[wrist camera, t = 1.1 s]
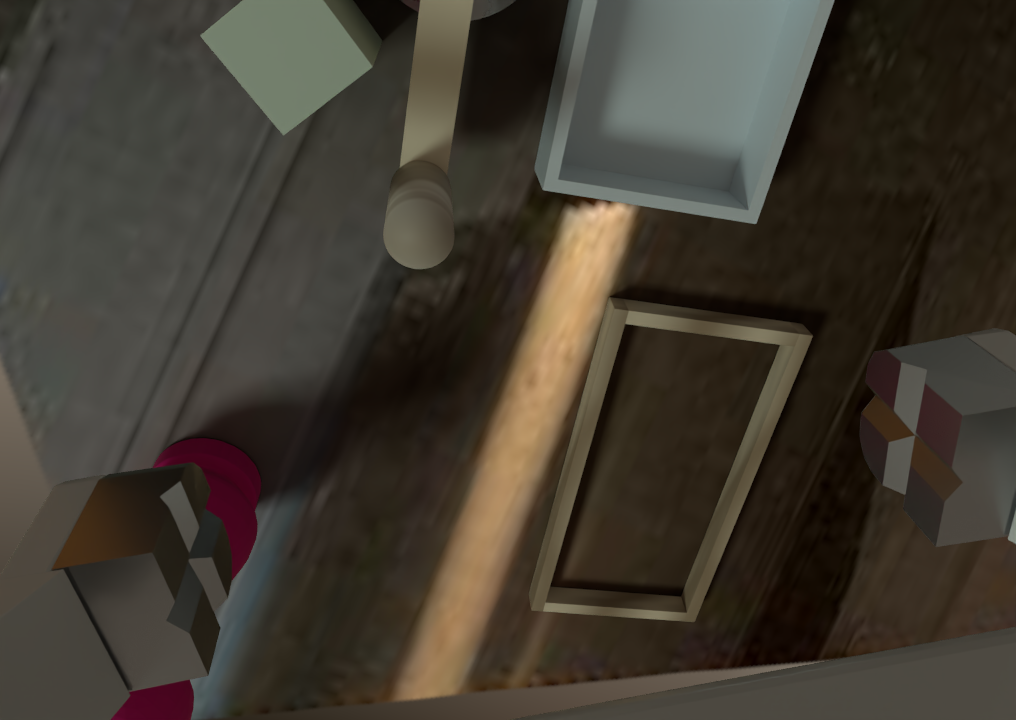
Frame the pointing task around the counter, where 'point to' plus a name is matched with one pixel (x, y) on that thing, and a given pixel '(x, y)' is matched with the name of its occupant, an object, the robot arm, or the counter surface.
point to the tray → (677, 101)
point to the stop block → (294, 52)
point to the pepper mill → (233, 498)
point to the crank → (428, 139)
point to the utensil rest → (737, 485)
